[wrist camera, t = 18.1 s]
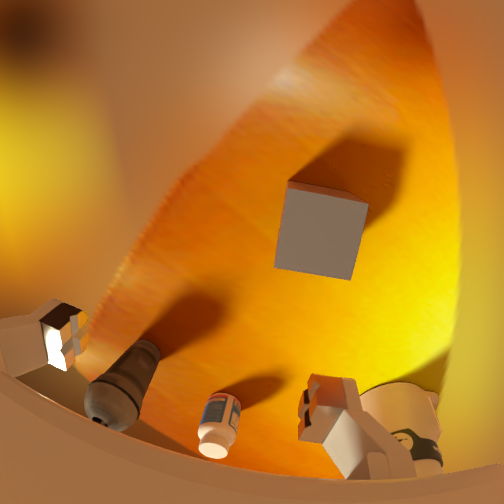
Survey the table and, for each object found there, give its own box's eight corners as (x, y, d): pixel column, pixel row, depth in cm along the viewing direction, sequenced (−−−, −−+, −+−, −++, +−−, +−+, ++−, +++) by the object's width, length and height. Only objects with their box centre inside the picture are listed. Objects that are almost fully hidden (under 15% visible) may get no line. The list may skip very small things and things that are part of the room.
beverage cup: (165, 334, 41) (99, 439, 22) (172, 373, 43) (121, 477, 24) (120, 328, 42) (44, 418, 23) (130, 367, 44) (70, 458, 25)
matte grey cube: (349, 192, 33) (368, 204, 25) (336, 251, 35) (350, 280, 27) (287, 180, 33) (287, 188, 25) (277, 241, 35) (273, 267, 27)
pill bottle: (202, 406, 45) (187, 451, 36) (215, 386, 43) (199, 434, 34) (233, 419, 45) (223, 465, 36) (247, 400, 43) (238, 449, 34)
